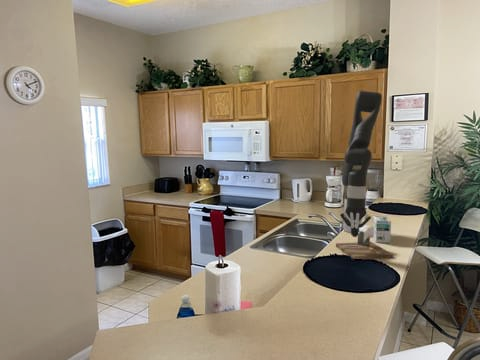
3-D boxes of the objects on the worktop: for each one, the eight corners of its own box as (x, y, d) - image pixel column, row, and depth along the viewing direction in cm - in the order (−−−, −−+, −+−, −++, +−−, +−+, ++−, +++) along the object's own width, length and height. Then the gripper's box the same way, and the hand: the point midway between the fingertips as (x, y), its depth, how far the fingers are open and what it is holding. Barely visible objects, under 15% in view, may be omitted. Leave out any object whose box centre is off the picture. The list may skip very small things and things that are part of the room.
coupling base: (335, 246, 159) (336, 234, 158) (370, 244, 161) (371, 233, 160) (353, 259, 141) (354, 246, 140) (392, 257, 143) (393, 244, 143)
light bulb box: (390, 243, 163) (391, 221, 162) (375, 242, 165) (376, 220, 163) (385, 237, 174) (386, 216, 172) (371, 236, 175) (372, 215, 174)
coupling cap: (360, 234, 159) (361, 223, 158) (374, 236, 156) (375, 225, 155) (352, 243, 145) (352, 232, 144) (367, 245, 142) (368, 233, 141)
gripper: (338, 196, 146) (336, 236, 148) (371, 198, 139) (369, 240, 141) (342, 193, 152) (341, 232, 154) (374, 196, 146) (372, 236, 148)
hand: (354, 236), depth 148 cm, fingers closed
